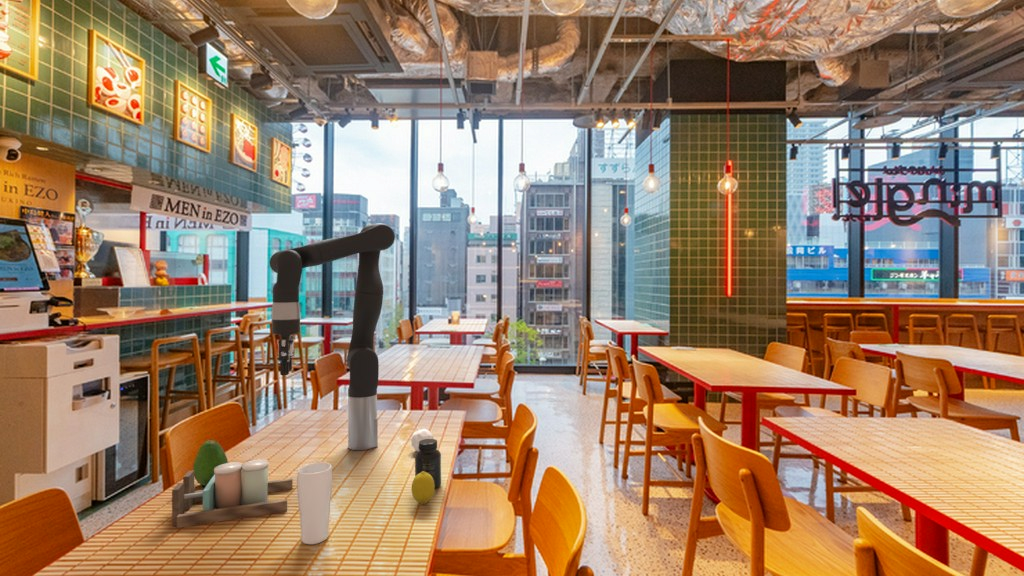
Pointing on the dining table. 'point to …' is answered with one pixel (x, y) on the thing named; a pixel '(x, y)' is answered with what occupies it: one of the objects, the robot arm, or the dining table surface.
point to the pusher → (206, 495)
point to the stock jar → (228, 485)
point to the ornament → (420, 437)
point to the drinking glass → (314, 501)
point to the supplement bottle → (429, 460)
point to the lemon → (423, 487)
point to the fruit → (208, 461)
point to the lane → (224, 513)
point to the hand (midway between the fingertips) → (286, 372)
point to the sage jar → (255, 482)
